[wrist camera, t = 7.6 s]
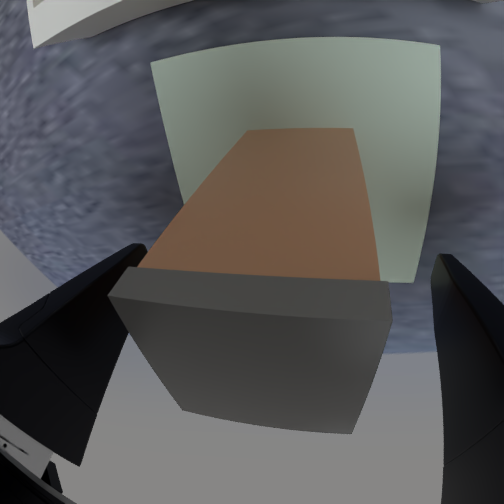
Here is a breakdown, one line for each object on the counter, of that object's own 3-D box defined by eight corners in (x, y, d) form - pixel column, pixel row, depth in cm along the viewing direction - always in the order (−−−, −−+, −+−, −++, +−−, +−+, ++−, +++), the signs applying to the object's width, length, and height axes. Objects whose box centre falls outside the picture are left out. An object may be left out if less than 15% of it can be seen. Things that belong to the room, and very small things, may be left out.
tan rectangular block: (355, 126, 11) (392, 320, 4) (353, 222, 14) (351, 433, 7) (244, 128, 13) (107, 295, 5) (257, 219, 15) (182, 410, 8)
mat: (435, 45, 9) (440, 45, 8) (411, 275, 16) (413, 282, 15) (156, 61, 12) (150, 62, 11) (206, 266, 19) (203, 273, 18)
